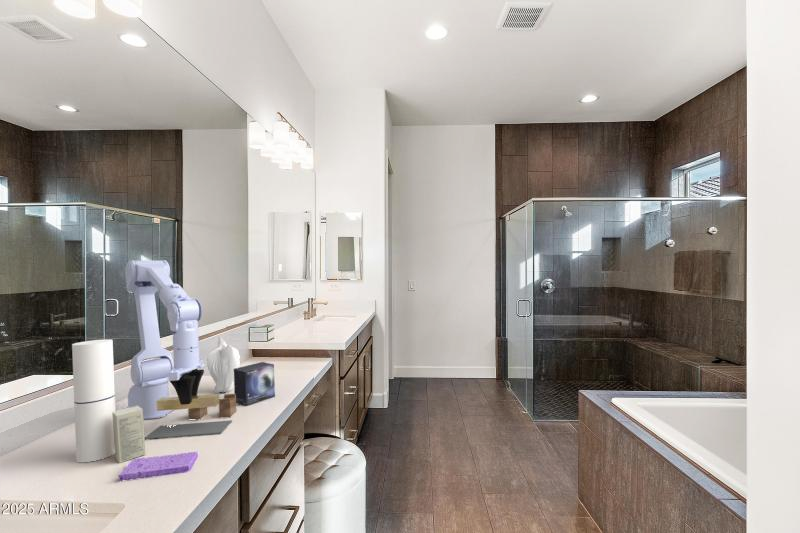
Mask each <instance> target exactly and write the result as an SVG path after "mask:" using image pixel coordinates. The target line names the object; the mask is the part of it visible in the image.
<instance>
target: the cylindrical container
mask: <svg viewBox="0 0 800 533" xmlns="http://www.w3.org/2000/svg"><path fill="white" fill-rule="evenodd" d="M113 341H114V340H113V339H109V338H108V339H105V338H103V339H93V340H86V341H80V342H75V343H72V344H71V350H72V376H73V379H72V380H73V382H72V383H73V401H74V402H73V405H74V427H75V429H74V430H75V453H76V454H75V455H76V462H77V463H79V462H90V461H95V462H97V461H96V460H99V461H101V460H100V459H102V460H105V459H107V458H106V457H108V458H110V457H111V455H112V456H113V455H115V444H114V430H113V416H112V412H115V411H116V395H115V393H116V390H115V388H116V387H115V369H114V366H115V364H114V345H113V344H114V343H113ZM109 456H110V457H109ZM104 458H105V459H104ZM90 463H91V462H90Z"/></svg>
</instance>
